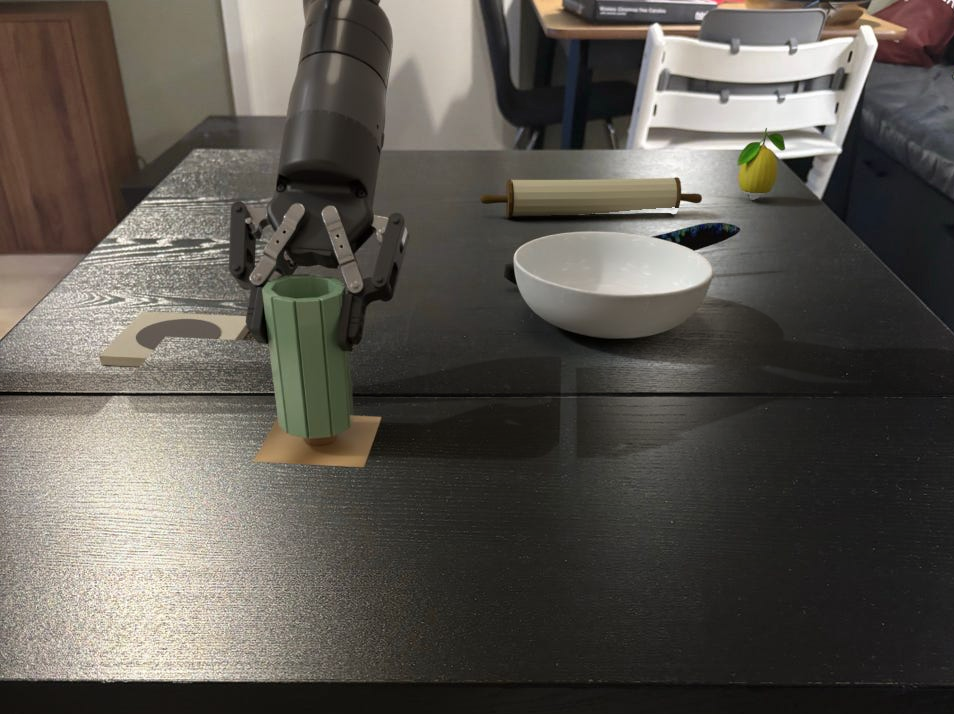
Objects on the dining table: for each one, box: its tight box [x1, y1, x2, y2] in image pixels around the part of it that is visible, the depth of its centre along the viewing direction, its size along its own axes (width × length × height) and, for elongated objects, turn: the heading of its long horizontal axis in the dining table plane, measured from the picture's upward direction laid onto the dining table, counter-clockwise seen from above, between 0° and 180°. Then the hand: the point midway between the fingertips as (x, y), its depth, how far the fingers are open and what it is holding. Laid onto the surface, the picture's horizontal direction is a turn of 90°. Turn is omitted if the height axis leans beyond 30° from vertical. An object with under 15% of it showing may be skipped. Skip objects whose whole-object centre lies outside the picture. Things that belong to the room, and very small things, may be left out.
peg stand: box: [253, 415, 382, 468], centre depth 76 cm, size 9×9×10 cm
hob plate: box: [98, 311, 250, 368], centre depth 96 cm, size 12×12×1 cm
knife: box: [503, 222, 741, 287], centre depth 112 cm, size 31×3×4 cm, turn 104°
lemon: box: [736, 127, 786, 194], centre depth 140 cm, size 7×6×10 cm
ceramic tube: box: [262, 273, 355, 439], centre depth 74 cm, size 6×6×11 cm
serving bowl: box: [513, 231, 715, 340], centre depth 100 cm, size 21×21×7 cm
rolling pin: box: [480, 176, 703, 219], centre depth 134 cm, size 32×6×5 cm, turn 97°
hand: (302, 343), depth 71 cm, fingers closed on ceramic tube, 6 cm apart
